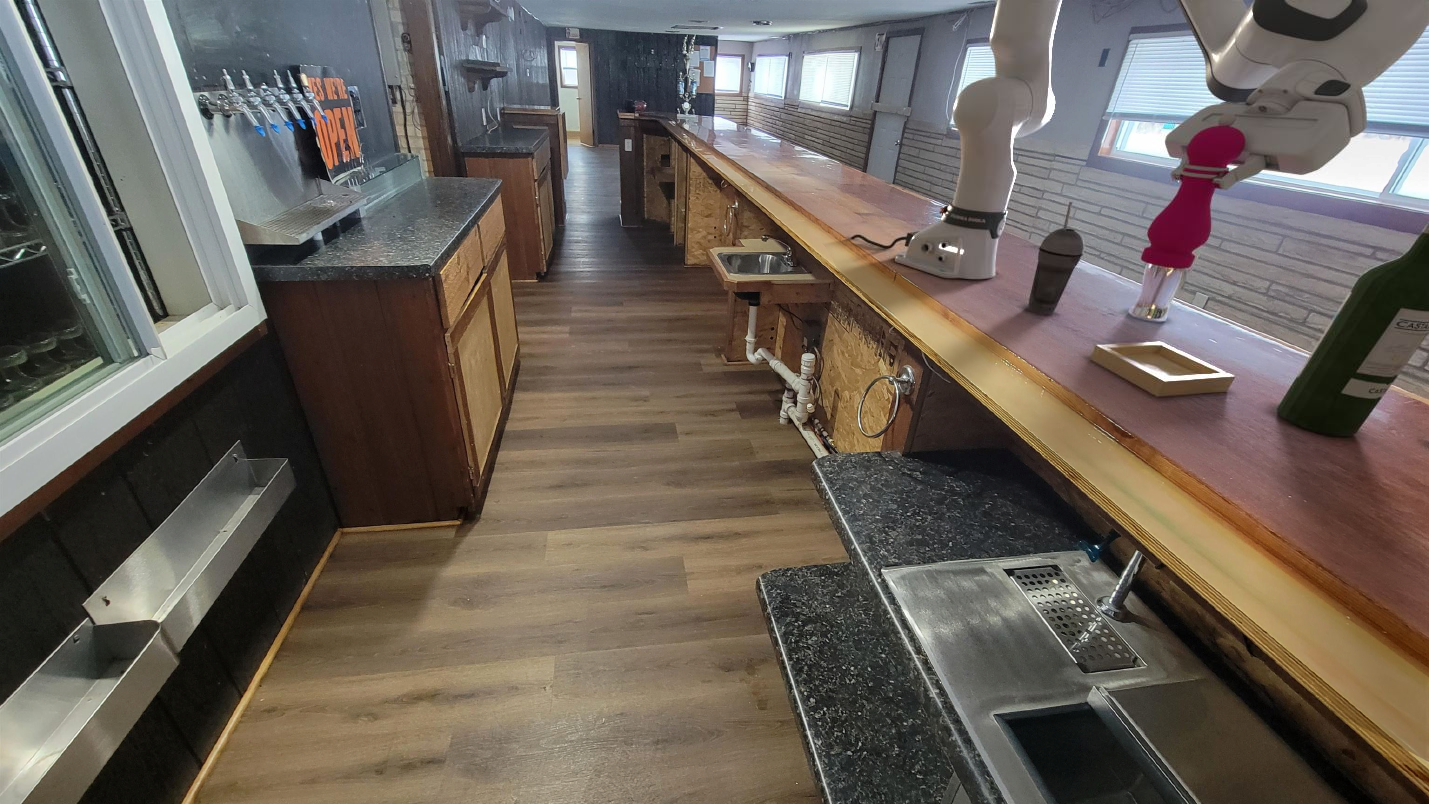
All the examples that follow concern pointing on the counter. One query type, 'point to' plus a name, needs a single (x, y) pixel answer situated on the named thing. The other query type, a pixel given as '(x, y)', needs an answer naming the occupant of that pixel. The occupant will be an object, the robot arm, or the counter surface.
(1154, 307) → the beer glass
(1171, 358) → the tray
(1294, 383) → the wine bottle
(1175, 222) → the pepper mill
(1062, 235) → the beverage cup
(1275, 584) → the counter surface
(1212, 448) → the counter surface
